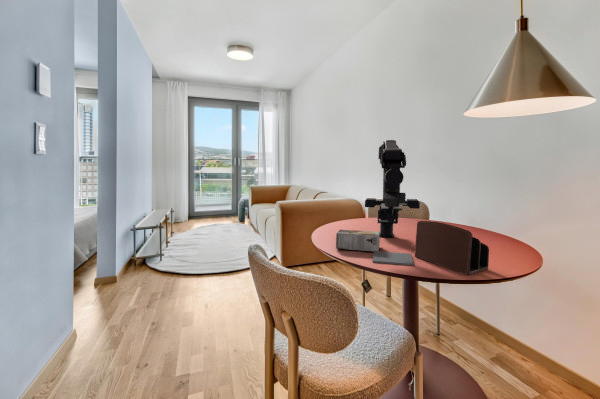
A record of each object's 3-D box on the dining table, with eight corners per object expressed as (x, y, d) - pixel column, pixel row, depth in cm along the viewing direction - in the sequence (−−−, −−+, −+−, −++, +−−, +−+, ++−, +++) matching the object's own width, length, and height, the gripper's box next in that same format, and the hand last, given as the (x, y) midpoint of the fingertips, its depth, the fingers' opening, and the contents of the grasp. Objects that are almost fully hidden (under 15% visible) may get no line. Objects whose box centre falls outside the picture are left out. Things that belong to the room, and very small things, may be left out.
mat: (373, 252, 106) (373, 251, 106) (410, 255, 102) (410, 253, 102) (372, 262, 95) (372, 260, 95) (413, 265, 92) (413, 263, 92)
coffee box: (379, 247, 113) (340, 244, 118) (380, 231, 113) (340, 229, 118) (378, 252, 104) (335, 248, 109) (378, 235, 104) (335, 232, 109)
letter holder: (468, 276, 83) (471, 229, 81) (414, 257, 101) (415, 218, 99) (488, 270, 87) (491, 225, 86) (433, 252, 105) (434, 215, 103)
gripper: (364, 185, 97) (363, 229, 99) (422, 185, 92) (420, 232, 94) (365, 183, 108) (365, 223, 110) (418, 183, 103) (417, 225, 104)
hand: (390, 226), depth 104 cm, fingers closed
